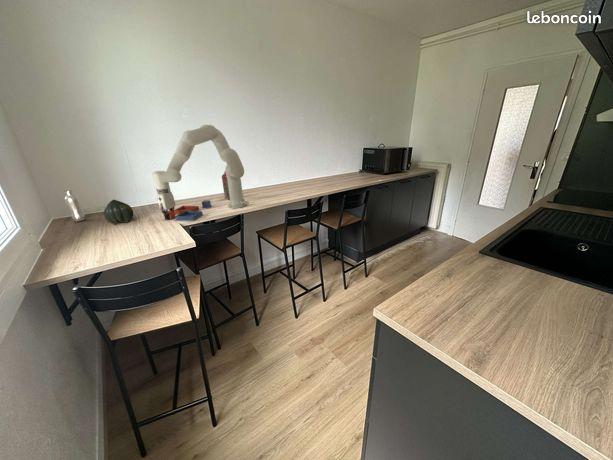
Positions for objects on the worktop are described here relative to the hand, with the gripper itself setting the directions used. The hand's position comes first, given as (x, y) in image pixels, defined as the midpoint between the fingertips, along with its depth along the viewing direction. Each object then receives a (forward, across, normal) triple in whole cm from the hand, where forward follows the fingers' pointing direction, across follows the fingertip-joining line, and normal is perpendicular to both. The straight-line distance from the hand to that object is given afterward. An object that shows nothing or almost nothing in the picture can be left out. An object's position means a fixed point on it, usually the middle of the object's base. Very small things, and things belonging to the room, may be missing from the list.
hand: (170, 217), depth 165 cm
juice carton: (+1, +51, -20) cm, 55 cm away
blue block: (0, +26, -12) cm, 29 cm away
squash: (+1, -9, +28) cm, 29 cm away
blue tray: (0, +3, -12) cm, 12 cm away
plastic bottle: (+1, -10, +57) cm, 58 cm away
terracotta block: (0, 0, 0) cm, 0 cm away
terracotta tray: (0, +14, -3) cm, 15 cm away
